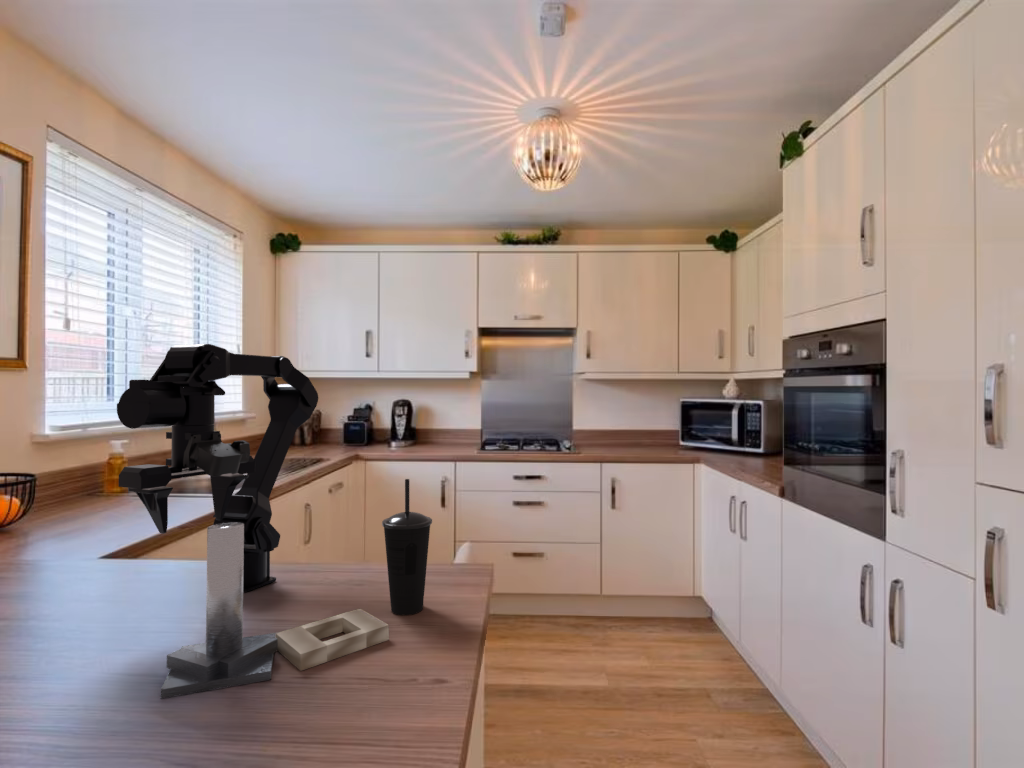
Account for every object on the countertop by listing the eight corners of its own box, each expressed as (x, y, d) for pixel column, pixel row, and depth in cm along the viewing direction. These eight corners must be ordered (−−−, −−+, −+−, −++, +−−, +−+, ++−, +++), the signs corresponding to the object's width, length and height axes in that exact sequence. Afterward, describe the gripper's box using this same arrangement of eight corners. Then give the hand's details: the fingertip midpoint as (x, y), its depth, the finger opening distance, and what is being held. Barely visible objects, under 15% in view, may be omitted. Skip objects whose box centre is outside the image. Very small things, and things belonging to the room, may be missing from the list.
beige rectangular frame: (300, 671, 66) (300, 654, 66) (275, 648, 71) (275, 633, 71) (388, 639, 74) (388, 624, 74) (359, 622, 80) (359, 608, 80)
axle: (236, 646, 70) (238, 520, 70) (246, 657, 67) (248, 526, 67) (201, 657, 67) (203, 525, 68) (210, 668, 64) (212, 531, 65)
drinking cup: (441, 604, 86) (441, 477, 87) (413, 622, 79) (413, 484, 80) (401, 596, 90) (401, 474, 90) (371, 613, 83) (371, 481, 83)
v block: (177, 654, 70) (177, 635, 70) (279, 639, 74) (279, 621, 74) (155, 699, 60) (155, 676, 60) (275, 678, 64) (275, 657, 64)
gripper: (167, 429, 73) (166, 547, 73) (279, 423, 90) (279, 518, 90) (116, 428, 78) (115, 538, 77) (232, 422, 94) (231, 512, 94)
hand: (192, 526), depth 84 cm, fingers open, 9 cm apart
